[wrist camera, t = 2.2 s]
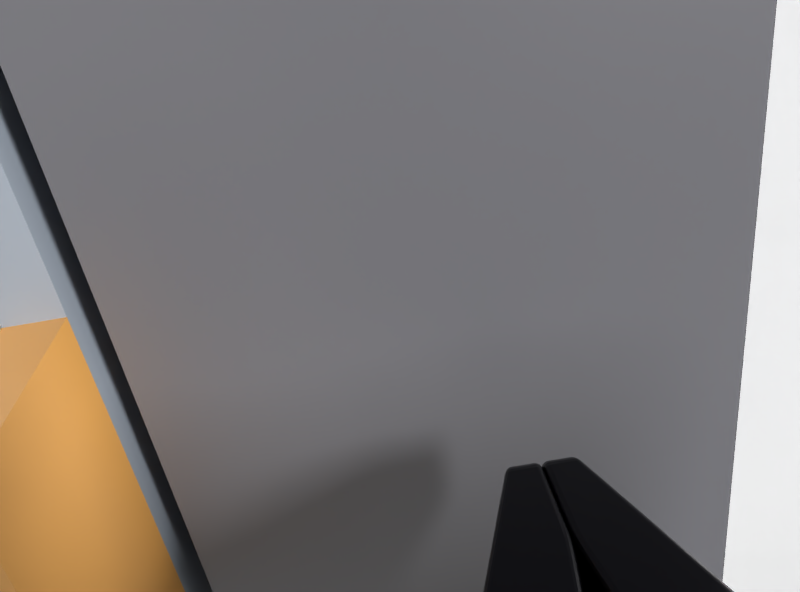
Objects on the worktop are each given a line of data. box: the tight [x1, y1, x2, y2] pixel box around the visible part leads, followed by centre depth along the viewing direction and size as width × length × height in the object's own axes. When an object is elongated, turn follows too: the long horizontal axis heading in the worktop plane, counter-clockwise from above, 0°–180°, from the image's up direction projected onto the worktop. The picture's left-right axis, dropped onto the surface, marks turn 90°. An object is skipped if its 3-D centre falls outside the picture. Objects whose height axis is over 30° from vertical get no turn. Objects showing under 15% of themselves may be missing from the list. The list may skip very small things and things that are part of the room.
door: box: [0, 66, 213, 592], centre depth 11 cm, size 16×1×8 cm, turn 8°
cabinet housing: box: [0, 0, 777, 592], centre depth 12 cm, size 17×8×5 cm, turn 8°
